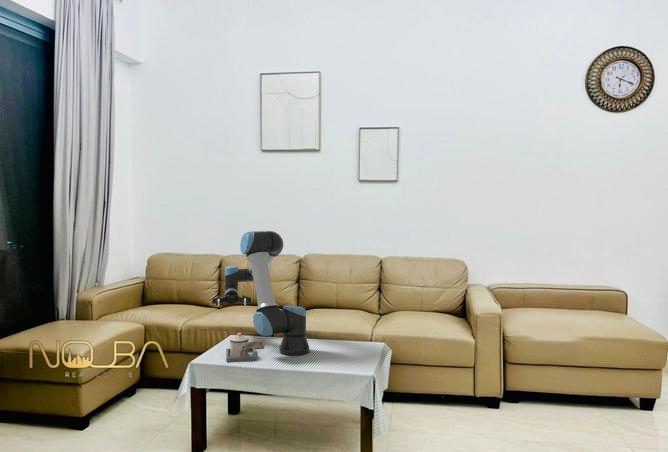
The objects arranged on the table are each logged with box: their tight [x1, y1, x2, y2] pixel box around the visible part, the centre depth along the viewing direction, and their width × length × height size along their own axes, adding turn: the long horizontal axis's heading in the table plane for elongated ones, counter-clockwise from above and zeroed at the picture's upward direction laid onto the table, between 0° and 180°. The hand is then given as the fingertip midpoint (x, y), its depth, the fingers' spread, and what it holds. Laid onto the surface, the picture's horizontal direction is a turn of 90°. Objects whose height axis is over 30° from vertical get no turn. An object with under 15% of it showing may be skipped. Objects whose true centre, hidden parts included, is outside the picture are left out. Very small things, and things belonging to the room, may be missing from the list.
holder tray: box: [225, 347, 257, 363], centre depth 247 cm, size 14×17×2 cm
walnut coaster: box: [248, 341, 264, 350], centre depth 265 cm, size 12×12×1 cm
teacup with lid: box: [229, 332, 250, 358], centre depth 246 cm, size 12×9×12 cm
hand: (231, 303), depth 259 cm, fingers open, 13 cm apart
